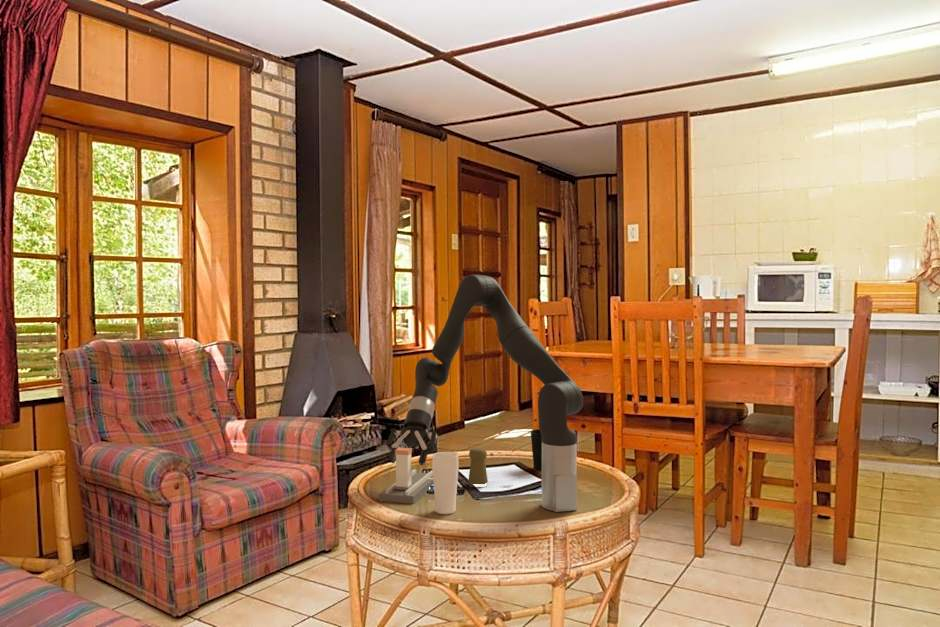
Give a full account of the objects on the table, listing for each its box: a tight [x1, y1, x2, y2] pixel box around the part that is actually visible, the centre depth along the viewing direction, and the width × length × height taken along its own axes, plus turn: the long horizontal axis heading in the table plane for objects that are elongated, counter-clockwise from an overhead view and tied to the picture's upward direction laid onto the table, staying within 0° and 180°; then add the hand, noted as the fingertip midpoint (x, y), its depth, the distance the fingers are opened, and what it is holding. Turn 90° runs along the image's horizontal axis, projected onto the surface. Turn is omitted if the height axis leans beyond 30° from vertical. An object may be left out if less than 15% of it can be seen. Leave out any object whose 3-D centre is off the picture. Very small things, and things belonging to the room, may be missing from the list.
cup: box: [530, 428, 542, 472], centre depth 228 cm, size 8×8×12 cm
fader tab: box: [394, 447, 413, 490], centre depth 198 cm, size 4×4×11 cm
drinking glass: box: [431, 451, 459, 515], centre depth 184 cm, size 7×7×15 cm
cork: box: [467, 447, 489, 484], centre depth 209 cm, size 6×6×11 cm
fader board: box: [378, 469, 433, 505], centre depth 204 cm, size 24×10×3 cm, turn 165°
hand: (406, 462), depth 200 cm, fingers open, 8 cm apart
